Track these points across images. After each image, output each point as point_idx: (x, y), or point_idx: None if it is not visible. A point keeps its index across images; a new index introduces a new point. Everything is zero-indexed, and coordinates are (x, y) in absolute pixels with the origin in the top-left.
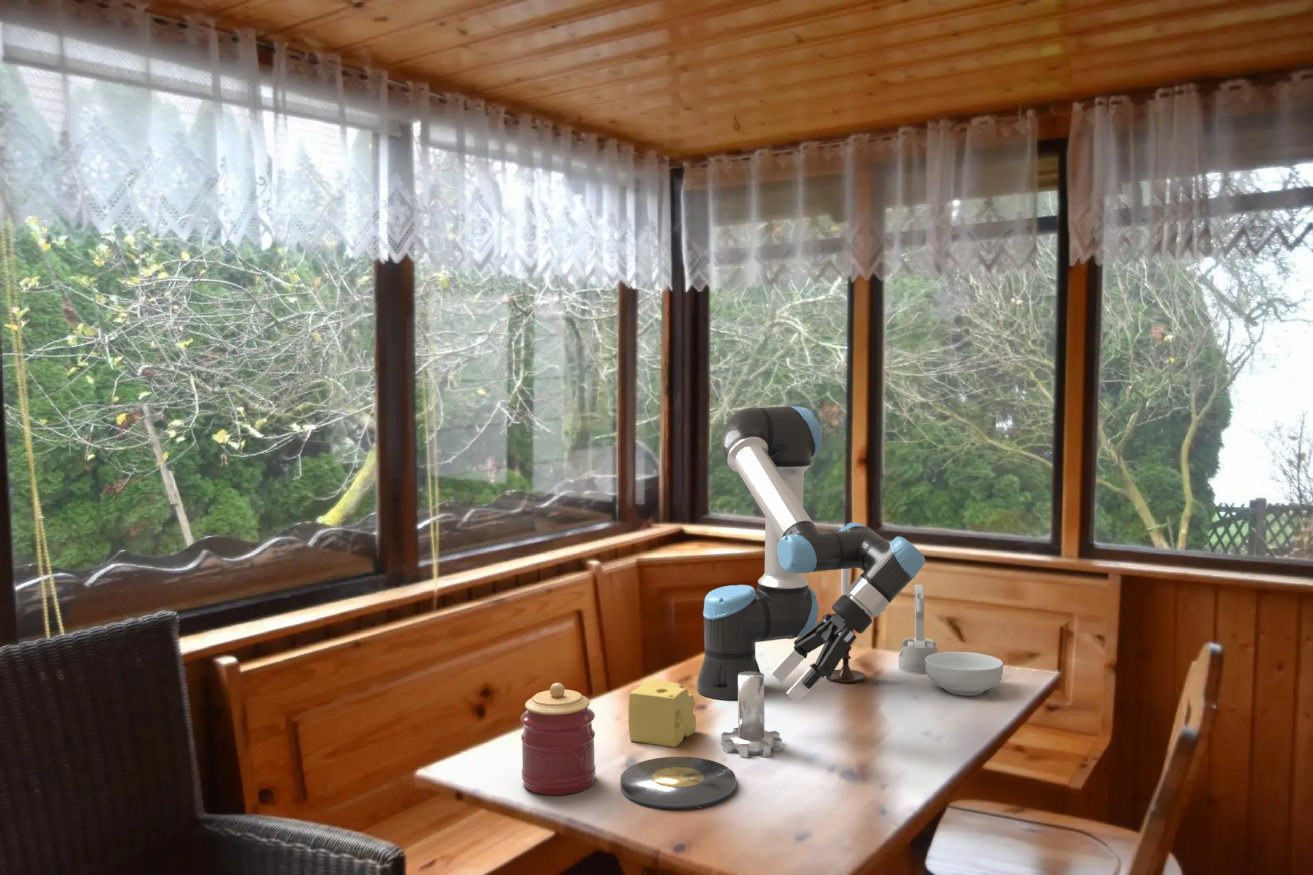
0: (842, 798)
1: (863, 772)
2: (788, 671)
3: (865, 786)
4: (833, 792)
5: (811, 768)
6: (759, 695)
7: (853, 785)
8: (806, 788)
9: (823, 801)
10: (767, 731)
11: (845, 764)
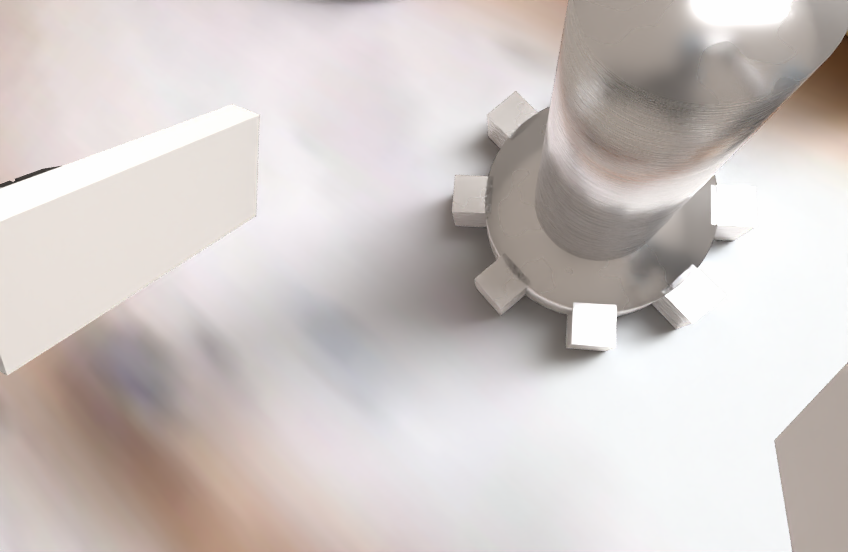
0: None
1: (116, 435)
2: (809, 529)
3: None
4: None
5: (261, 286)
6: (557, 96)
7: None
8: None
9: (38, 148)
10: (625, 307)
11: (214, 432)
